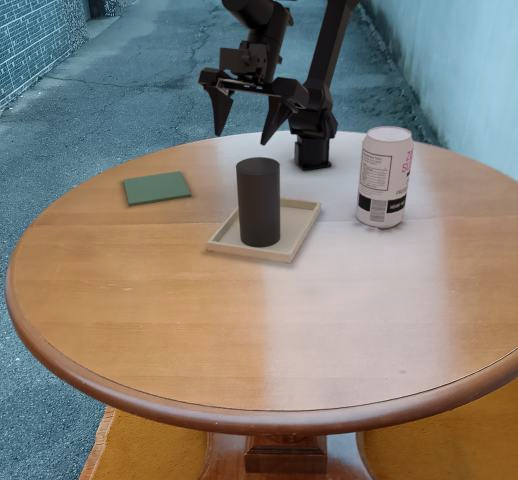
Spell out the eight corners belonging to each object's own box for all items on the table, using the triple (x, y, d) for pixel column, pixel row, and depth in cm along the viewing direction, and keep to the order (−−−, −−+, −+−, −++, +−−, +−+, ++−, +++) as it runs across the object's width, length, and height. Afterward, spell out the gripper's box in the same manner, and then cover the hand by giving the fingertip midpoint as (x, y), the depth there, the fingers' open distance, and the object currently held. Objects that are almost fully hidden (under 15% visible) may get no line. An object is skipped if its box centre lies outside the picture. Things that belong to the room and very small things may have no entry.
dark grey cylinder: (273, 225, 94) (272, 154, 86) (285, 243, 89) (285, 170, 81) (236, 231, 93) (231, 160, 84) (246, 250, 87) (242, 176, 79)
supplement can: (351, 210, 98) (357, 126, 88) (395, 207, 99) (407, 123, 89) (361, 231, 92) (369, 144, 82) (408, 228, 92) (422, 140, 83)
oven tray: (248, 202, 102) (248, 193, 101) (321, 212, 98) (321, 202, 97) (207, 252, 88) (206, 242, 87) (290, 265, 84) (290, 254, 83)
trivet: (180, 173, 114) (180, 170, 113) (191, 196, 105) (190, 193, 105) (123, 182, 111) (123, 179, 111) (129, 206, 103) (128, 203, 102)
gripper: (190, 14, 84) (167, 116, 87) (293, 22, 76) (263, 135, 79) (227, 46, 94) (205, 137, 97) (322, 56, 86) (294, 155, 89)
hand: (239, 140), depth 90 cm, fingers open, 9 cm apart
